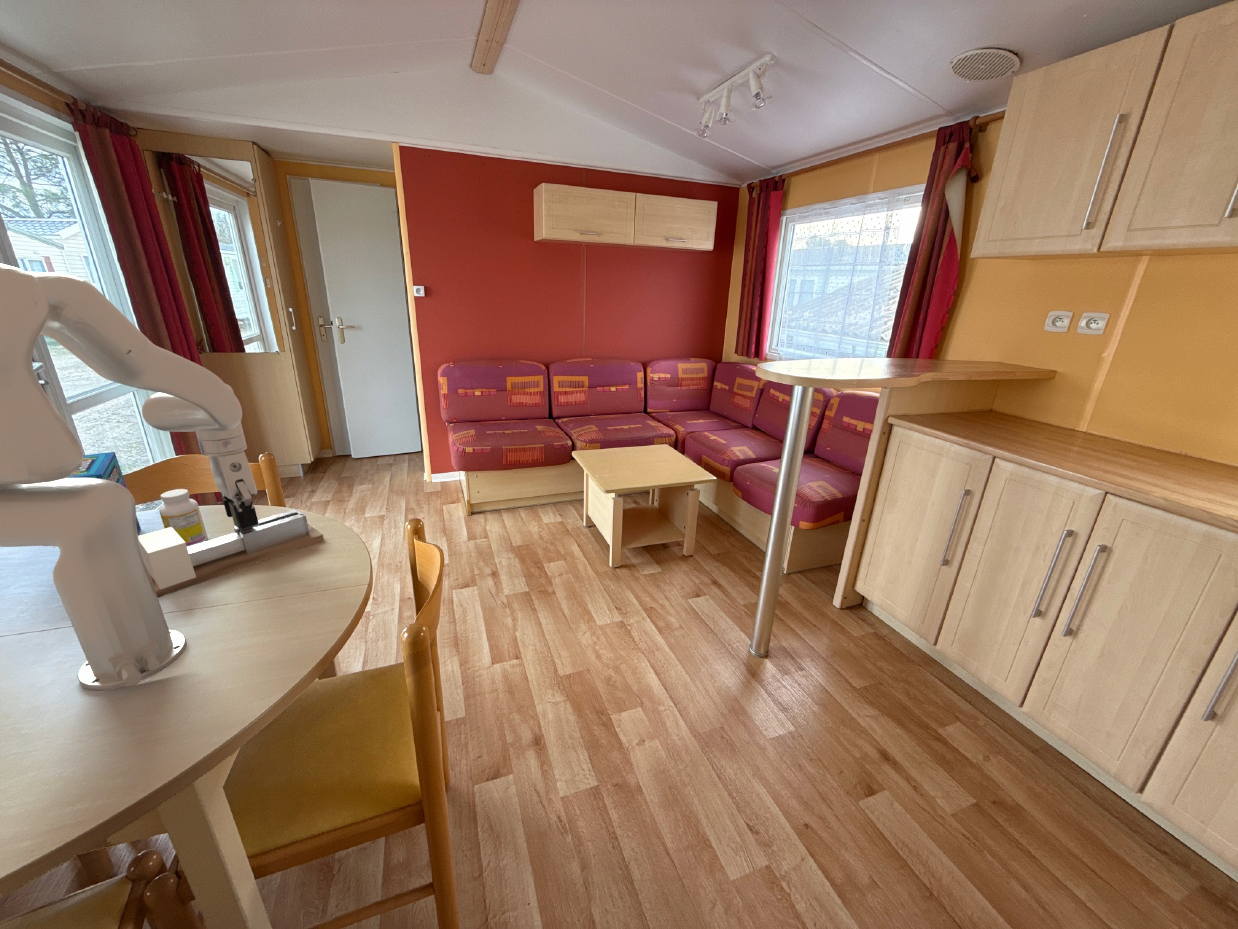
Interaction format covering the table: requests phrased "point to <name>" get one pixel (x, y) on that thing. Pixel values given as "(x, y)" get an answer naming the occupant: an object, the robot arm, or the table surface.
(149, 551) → the block
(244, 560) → the base board
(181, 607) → the table surface
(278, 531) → the outer sleeve
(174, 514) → the supplement bottle
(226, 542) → the sliding bolt latch
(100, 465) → the box
